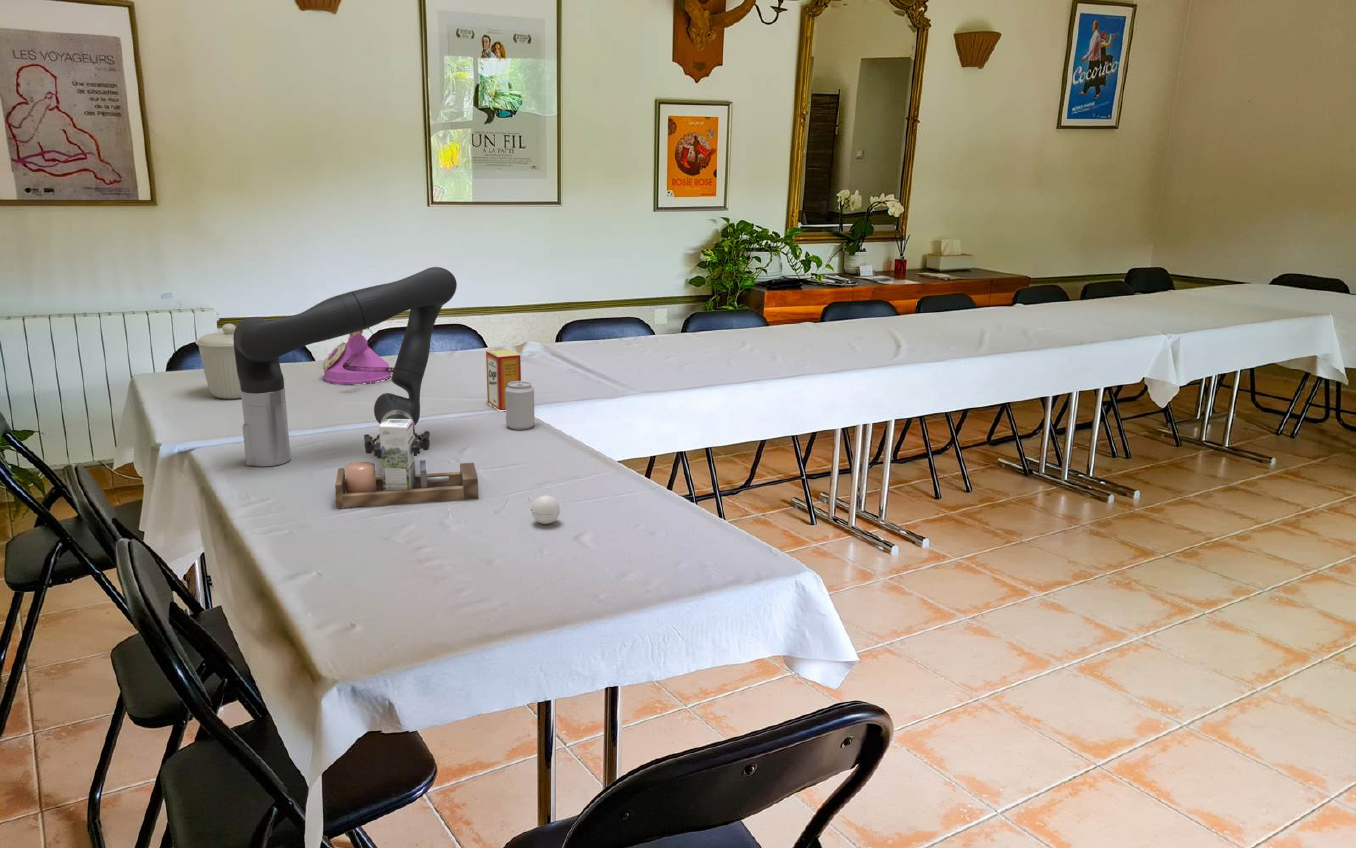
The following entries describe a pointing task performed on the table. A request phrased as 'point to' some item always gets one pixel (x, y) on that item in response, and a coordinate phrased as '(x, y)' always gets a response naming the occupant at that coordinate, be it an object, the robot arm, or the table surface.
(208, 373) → the canister
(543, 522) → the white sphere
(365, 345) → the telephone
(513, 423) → the can
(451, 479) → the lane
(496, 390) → the baking soda box
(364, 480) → the peach rounded cylinder
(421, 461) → the plate
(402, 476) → the syrup box
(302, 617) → the table surface
